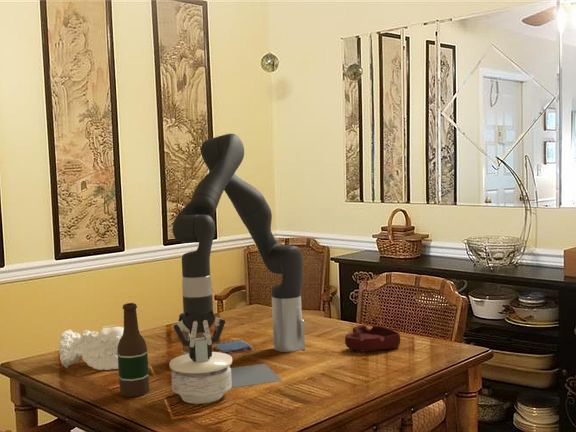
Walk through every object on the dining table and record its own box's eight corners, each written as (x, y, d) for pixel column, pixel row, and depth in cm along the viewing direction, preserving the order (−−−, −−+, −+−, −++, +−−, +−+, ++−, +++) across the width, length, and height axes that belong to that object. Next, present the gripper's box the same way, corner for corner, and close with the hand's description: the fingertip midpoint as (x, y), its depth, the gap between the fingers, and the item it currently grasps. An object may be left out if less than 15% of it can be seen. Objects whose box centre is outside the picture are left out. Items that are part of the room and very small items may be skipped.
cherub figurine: (74, 325, 223) (134, 318, 220) (80, 364, 224) (140, 357, 221) (55, 335, 210) (119, 327, 208) (61, 376, 211) (125, 369, 208)
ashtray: (395, 356, 212) (394, 340, 212) (342, 353, 218) (342, 337, 217) (405, 341, 229) (404, 326, 229) (356, 338, 234) (355, 324, 234)
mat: (265, 365, 208) (265, 363, 208) (282, 382, 191) (282, 380, 191) (208, 373, 202) (208, 371, 202) (220, 391, 186) (220, 389, 186)
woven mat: (224, 357, 220) (224, 351, 219) (212, 349, 229) (211, 343, 229) (255, 351, 224) (255, 345, 224) (241, 344, 234) (241, 338, 234)
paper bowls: (241, 391, 186) (240, 361, 185) (217, 411, 172) (215, 379, 171) (189, 387, 191) (188, 358, 190) (161, 406, 177) (160, 375, 176)
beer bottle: (122, 388, 192) (116, 301, 189) (151, 387, 192) (146, 300, 190) (117, 398, 184) (112, 307, 182) (147, 396, 184) (142, 306, 182)
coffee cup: (203, 365, 210) (201, 316, 209) (176, 365, 212) (173, 315, 210) (212, 357, 218) (209, 309, 217) (186, 357, 220) (183, 309, 219)
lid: (224, 351, 191) (223, 329, 190) (239, 368, 175) (237, 343, 175) (165, 359, 186) (164, 335, 185) (174, 376, 171) (173, 351, 170)
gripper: (221, 288, 185) (224, 352, 186) (167, 293, 180) (171, 359, 182) (227, 293, 178) (230, 360, 179) (171, 298, 173) (175, 367, 175)
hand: (200, 359), depth 181 cm, fingers closed on lid, 3 cm apart
